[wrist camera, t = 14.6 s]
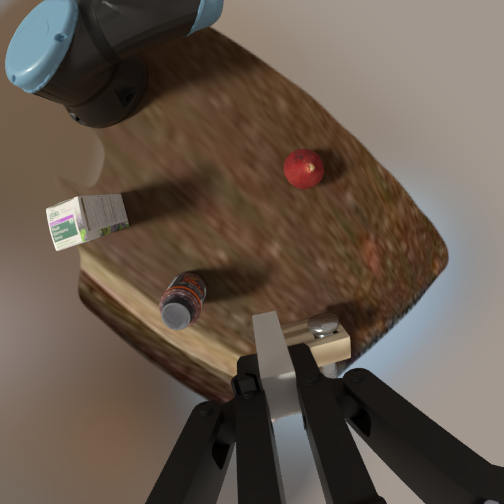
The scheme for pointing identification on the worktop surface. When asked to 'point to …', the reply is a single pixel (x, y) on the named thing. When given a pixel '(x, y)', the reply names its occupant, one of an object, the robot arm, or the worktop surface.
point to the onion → (303, 168)
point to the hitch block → (319, 342)
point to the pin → (321, 328)
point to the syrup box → (85, 219)
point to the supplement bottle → (182, 301)
